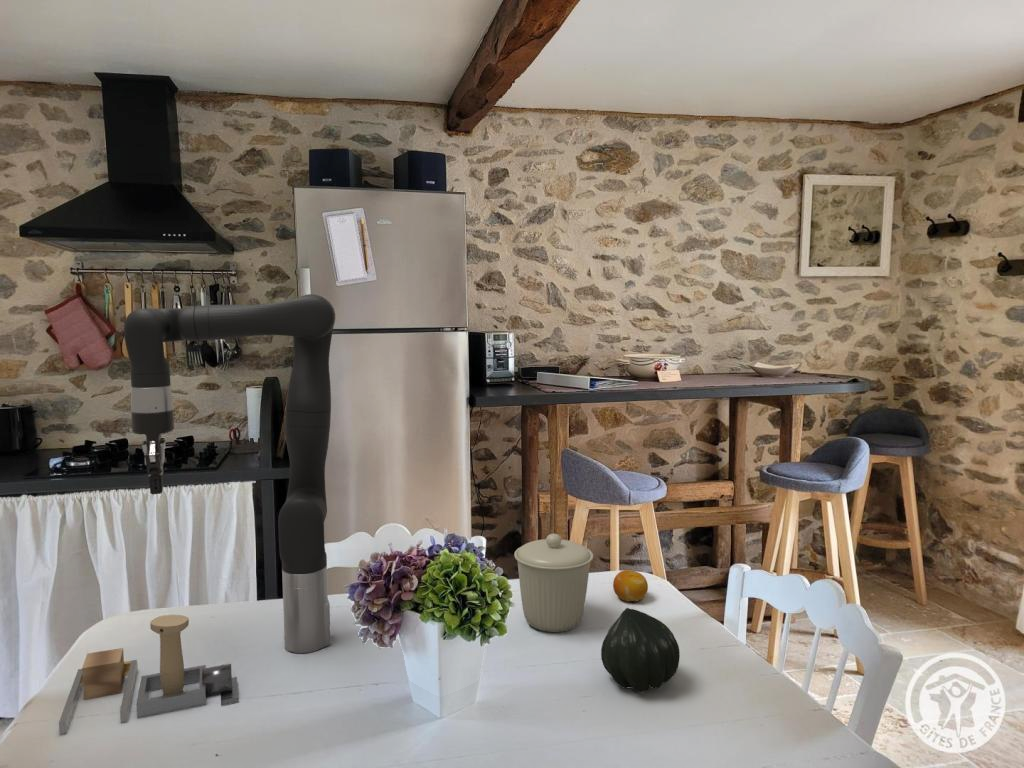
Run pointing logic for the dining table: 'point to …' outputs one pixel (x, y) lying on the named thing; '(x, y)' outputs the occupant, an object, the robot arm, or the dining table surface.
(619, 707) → the dining table surface
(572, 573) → the canister
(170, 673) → the handle
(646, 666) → the squash
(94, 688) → the tan cardboard box
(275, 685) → the dining table surface
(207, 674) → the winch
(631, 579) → the fruit
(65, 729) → the bay
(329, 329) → the robot arm
